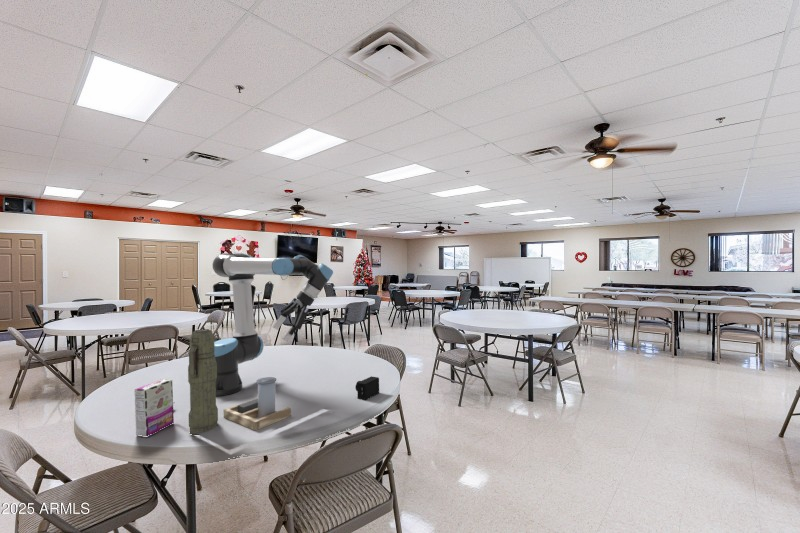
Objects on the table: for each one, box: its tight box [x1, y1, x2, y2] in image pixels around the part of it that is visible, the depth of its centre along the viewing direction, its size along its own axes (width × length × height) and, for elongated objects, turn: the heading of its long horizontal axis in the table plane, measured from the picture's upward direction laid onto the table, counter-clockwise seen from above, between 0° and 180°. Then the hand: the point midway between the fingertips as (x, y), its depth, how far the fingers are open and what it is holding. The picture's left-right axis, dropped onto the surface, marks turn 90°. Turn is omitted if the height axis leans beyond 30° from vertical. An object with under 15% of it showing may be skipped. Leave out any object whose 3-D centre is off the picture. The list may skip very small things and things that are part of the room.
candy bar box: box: [134, 378, 175, 436], centre depth 125 cm, size 11×5×16 cm, turn 168°
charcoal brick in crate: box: [237, 397, 258, 414], centre depth 136 cm, size 4×9×4 cm, turn 145°
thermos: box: [187, 328, 219, 436], centre depth 125 cm, size 9×12×35 cm
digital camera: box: [355, 375, 380, 401], centre depth 156 cm, size 10×5×7 cm, turn 148°
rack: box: [223, 397, 292, 431], centre depth 133 cm, size 20×14×4 cm
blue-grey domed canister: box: [256, 376, 277, 419], centre depth 131 cm, size 7×7×14 cm
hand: (279, 334), depth 159 cm, fingers open, 13 cm apart
